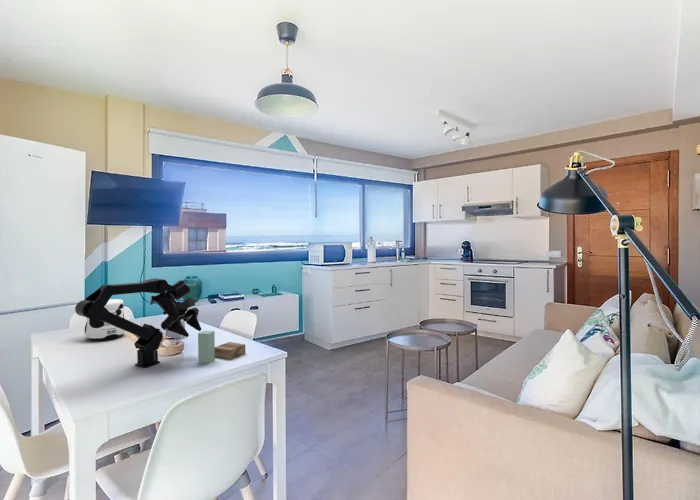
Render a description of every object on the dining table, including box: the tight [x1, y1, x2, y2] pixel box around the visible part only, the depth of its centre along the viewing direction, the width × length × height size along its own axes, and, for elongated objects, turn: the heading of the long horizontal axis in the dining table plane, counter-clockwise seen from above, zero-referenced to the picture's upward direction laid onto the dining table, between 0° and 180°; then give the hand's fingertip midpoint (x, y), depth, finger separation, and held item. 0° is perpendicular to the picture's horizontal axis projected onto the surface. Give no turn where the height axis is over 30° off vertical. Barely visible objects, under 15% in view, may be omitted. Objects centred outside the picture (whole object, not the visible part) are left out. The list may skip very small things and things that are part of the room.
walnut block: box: [215, 341, 246, 361], centre depth 157 cm, size 9×9×4 cm
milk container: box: [84, 298, 126, 341], centre depth 185 cm, size 17×17×18 cm
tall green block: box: [197, 330, 216, 365], centre depth 149 cm, size 4×4×12 cm
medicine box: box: [165, 320, 186, 340], centre depth 184 cm, size 8×4×9 cm, turn 84°
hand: (194, 333), depth 150 cm, fingers open, 9 cm apart
